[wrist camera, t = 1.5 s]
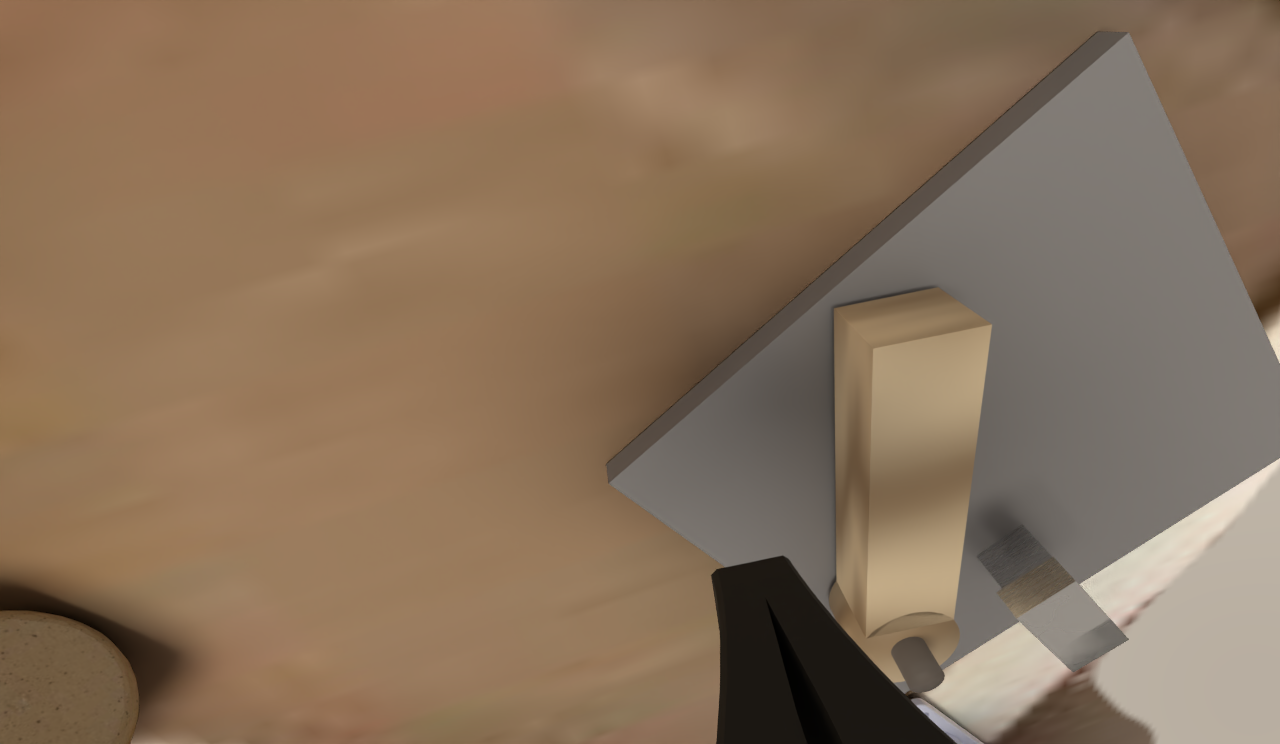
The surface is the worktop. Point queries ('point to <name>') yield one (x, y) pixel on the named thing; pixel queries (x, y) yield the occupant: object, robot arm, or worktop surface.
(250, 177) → the worktop surface
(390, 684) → the worktop surface
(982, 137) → the slate board
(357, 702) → the worktop surface
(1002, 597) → the steel keeper
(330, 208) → the worktop surface
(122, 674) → the ceramic mug
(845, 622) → the oak link
